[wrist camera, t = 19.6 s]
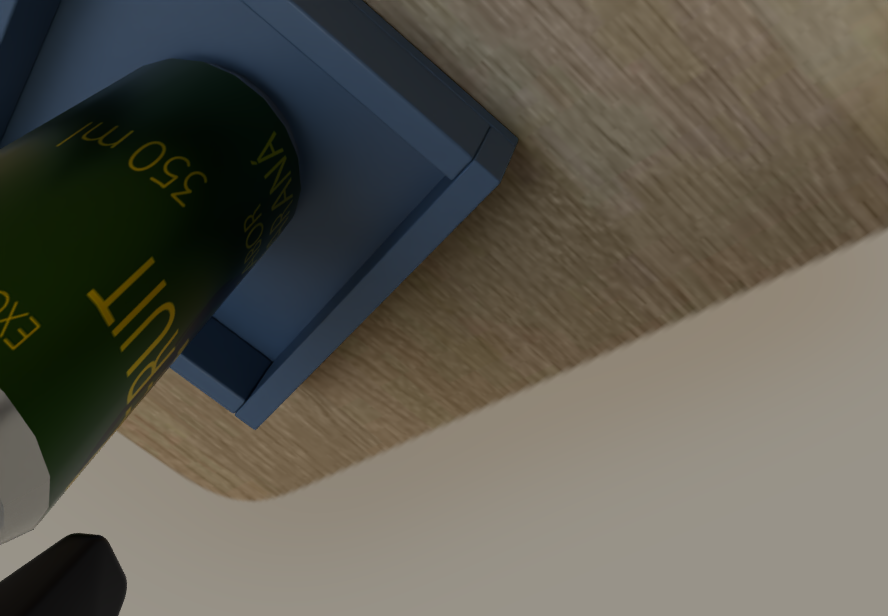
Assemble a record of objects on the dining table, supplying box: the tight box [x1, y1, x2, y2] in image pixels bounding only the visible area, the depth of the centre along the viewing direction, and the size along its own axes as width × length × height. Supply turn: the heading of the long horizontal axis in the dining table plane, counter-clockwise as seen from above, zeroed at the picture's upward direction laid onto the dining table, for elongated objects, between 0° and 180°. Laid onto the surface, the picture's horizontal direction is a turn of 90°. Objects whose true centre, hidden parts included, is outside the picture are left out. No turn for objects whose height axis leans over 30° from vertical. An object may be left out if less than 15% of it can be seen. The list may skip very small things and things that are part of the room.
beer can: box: [0, 58, 301, 545], centre depth 17 cm, size 5×5×12 cm
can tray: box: [0, 0, 518, 430], centre depth 21 cm, size 12×12×2 cm
